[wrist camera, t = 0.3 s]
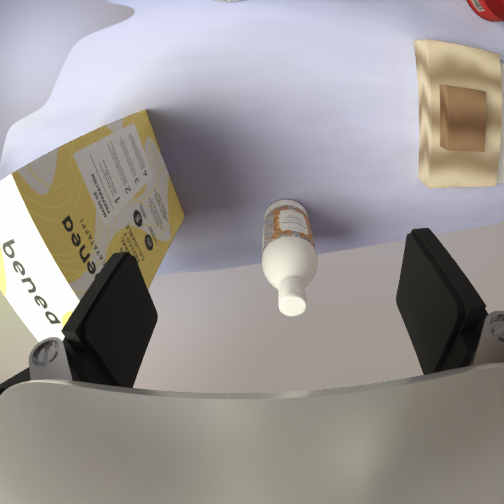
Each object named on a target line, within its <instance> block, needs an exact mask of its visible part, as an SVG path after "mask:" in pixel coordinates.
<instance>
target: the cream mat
mask: <svg viewBox="0 0 504 504" xmlns="http://www.w3.org/2000/svg"><path fill="white" fill-rule="evenodd" d="M500 65H501V84H502V122H501V141H500V154H499V164H498V172H497V180H496V183H504V63H500Z"/></svg>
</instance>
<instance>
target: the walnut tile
mask: <svg viewBox="0 0 504 504" xmlns="http://www.w3.org/2000/svg"><path fill="white" fill-rule="evenodd" d="M439 89H440V146H441V147H442V148H444V149H446V150H448V151H476V152H484V151H485V136H486V92H485V91H481V90H476V89H470V88H463V87H455V86H446V85H439Z"/></svg>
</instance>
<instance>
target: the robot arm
mask: <svg viewBox="0 0 504 504" xmlns="http://www.w3.org/2000/svg"><path fill="white" fill-rule="evenodd" d="M214 1H220V2H235V1H241V0H214ZM396 301H397V306H398V309H399V311H400V313H401V316H402V318H403V321H404V323H405V326H406V328H407V331H408V333H409V336H410V339H411V341H412V344H413V346H414V349H415V351H416V354H417V357H418V360H419V363H420V365H421V368H422V371H423V374H424V375H422V376H416V377H410V378H405V379H399V380H392V381H386V382H380V383H373V384H366V385H358V386H350V387H342V388H332V389H321V390H309V391H294V392H276V393H194V392H193V393H192V392H173V391H159V390H147V389H136V388H133V385H134V382H135V379H136V376H137V374H138V371H139V368H140V365H141V362H142V360H143V357H144V354H145V351H146V349H147V346H148V343H149V341H150V338H151V336H152V333H153V330H154V328H155V325H156V323H157V318H158V316H157V311H156V309H155V306H154V304H153V301H152V299H151V296H150V294H149V292H148V289H147V286H146V284H145V281H144V278H143V276H142V273H141V271H140V268H139V265H138V263H137V260H136V258H135V256H133V255H131V254H130V253H129V252H119V253H113V254H112V255H111V257H110V258H109V260H108V261H107V262H106V264H105V265H104V267H103V268H102V269H101V271H100V272H99V274H98V275H97V277H96V278H95V279H94V281H93V282H92V284H91V285H90V287H89V288H88V290H87V291H86V293H85V294H84V296H83V297H82V299H81V300H80V302H79V303H78V305H77V306H76V308H75V309H74V311H73V313H72V314H71V316H70V317H69V319H68V320H67V322H66V324H65V325H64V327H63V329H62V330H61V332H62V333H63V335H64V336H65V337H64V339H63V341H62V340H61V339H60V338H58V337H49V338H46V339H44V340H42V341H41V342H39V343H38V344H37V345H36V346H35V347H34V348H33V350H32V351H31V353H30V356H29V367H28V368H27V369H25V370H24V371H22V372H20V373H18V374H17V375H15V376H13V377H12V378H10V379H8V380H7V381H5V382H3V383H1V384H0V504H504V311H494V312H491V313H490V314H488V313H487V311H486V310H485V307H486V305H485V303H484V302H483V300H482V299H481V297H480V296H479V294H478V293H477V291H476V290H475V289H474V287H473V285H472V284H471V283H470V281H469V280H468V278H467V277H466V276H465V274H464V273H463V271H461V269H460V268H459V266H458V265H457V263H456V262H455V261H454V259H453V258H452V257H451V255H450V254H449V253H448V251H447V250H446V249H445V248H444V246H443V245H442V244H441V242H440V241H439V240H438V239H437V237H436V236H435V235H434V234H433V233H432V231H431V230H430V229H429V228H420V229H413V230H412V231H411V233H410V234H407V237H406V243H405V250H404V257H403V263H402V269H401V274H400V280H399V285H398V290H397V296H396Z"/></svg>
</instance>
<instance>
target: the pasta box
mask: <svg viewBox="0 0 504 504" xmlns="http://www.w3.org/2000/svg"><path fill="white" fill-rule="evenodd" d="M184 217H185V215H184V212H183V210H182V207H181V204H180V202H179V199H178V197H177V194H176V191H175V189H174V186H173V184H172V181H171V178H170V176H169V173H168V170H167V168H166V165H165V162H164V159H163V157H162V154H161V151H160V148H159V146H158V143H157V140H156V137H155V134H154V131H153V129H152V126H151V123H150V120H149V117H148V114H147V111H146V110H143V111H140V112H138V113H135V114H132V115H130V116H127V117H125V118H122V119H120V120H117V121H115V122H112V123H110V124H108V125H105V126H103V127H101V128H98V129H96V130H94V131H92V132H89V133H87V134H85V135H83V136H81V137H79V138H76V139H74V140H72V141H70V142H68V143H66V144H64V145H62V146H60V147H58V148H56V149H54V150H52V151H51V152H49V153H47V154H45V155H43V156H41V157H39V158H38V159H36V160H34V161H32V162H31V163H29V164H27V165H25V166H24V167H22V168H20V169H19V170H17V171H15V172H14V173H12V174H10V175H9V176H7V177H6V178H5V179H3V180H2V181H0V289H1V291H2V292H3V294H4V295H5V297H6V298H7V300H8V301H9V303H10V304H11V306H12V307H13V308H14V310H15V311H16V313H17V314H18V315H19V317H20V318H21V319H22V321H23V322H24V323H25V325H26V326H27V327H28V329H29V330H30V331H31V332H32V334H33V335H34V336H35V337H36V339H37V340H38V341H39V342H41V341H42V340H44V339H46V338H49V337H58V338H60V339H61V340H62V341H63V339H64V337H65V336H64V335H63V333H62V332H61V330H62V329H63V327H64V325H65V324H66V322H67V320H68V319H69V317H70V316H71V314H72V313H73V311H74V309H75V308H76V306H77V305H78V303H79V302H80V300H81V299H82V297H83V296H84V294H85V293H86V291H87V290H88V288H89V287H90V285H91V284H92V282H93V281H94V279H95V278H96V277H97V275H98V274H99V272H100V271H101V269H102V268H103V267H104V265H105V264H106V262H107V261H108V260H109V258H110V257H111V255H112V254H113V253H119V252H129V253H130V254H131V255H133V256H135V258H136V260H137V263H138V265H139V268H140V271H141V273H142V276H143V278H144V281H145V284H146V286H147V289H149V286H150V284H151V282H152V280H153V278H154V276H155V274H156V272H157V270H158V268H159V266H160V264H161V262H162V260H163V258H164V256H165V254H166V252H167V250H168V248H169V246H170V244H171V242H172V240H173V238H174V236H175V234H176V232H177V230H178V229H179V227H180V225H181V223H182V221H183V219H184Z"/></svg>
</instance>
